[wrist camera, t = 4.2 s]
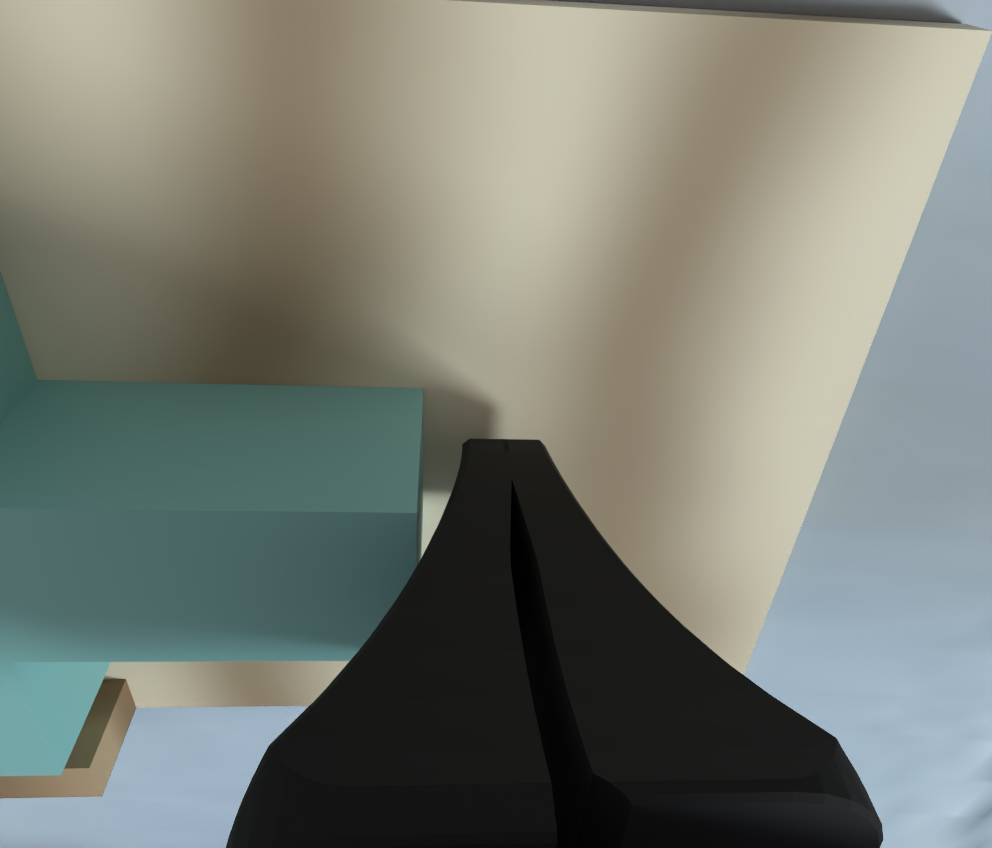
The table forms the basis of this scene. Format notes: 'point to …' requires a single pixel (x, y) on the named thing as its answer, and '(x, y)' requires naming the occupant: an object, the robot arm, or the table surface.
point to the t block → (188, 531)
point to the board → (482, 252)
